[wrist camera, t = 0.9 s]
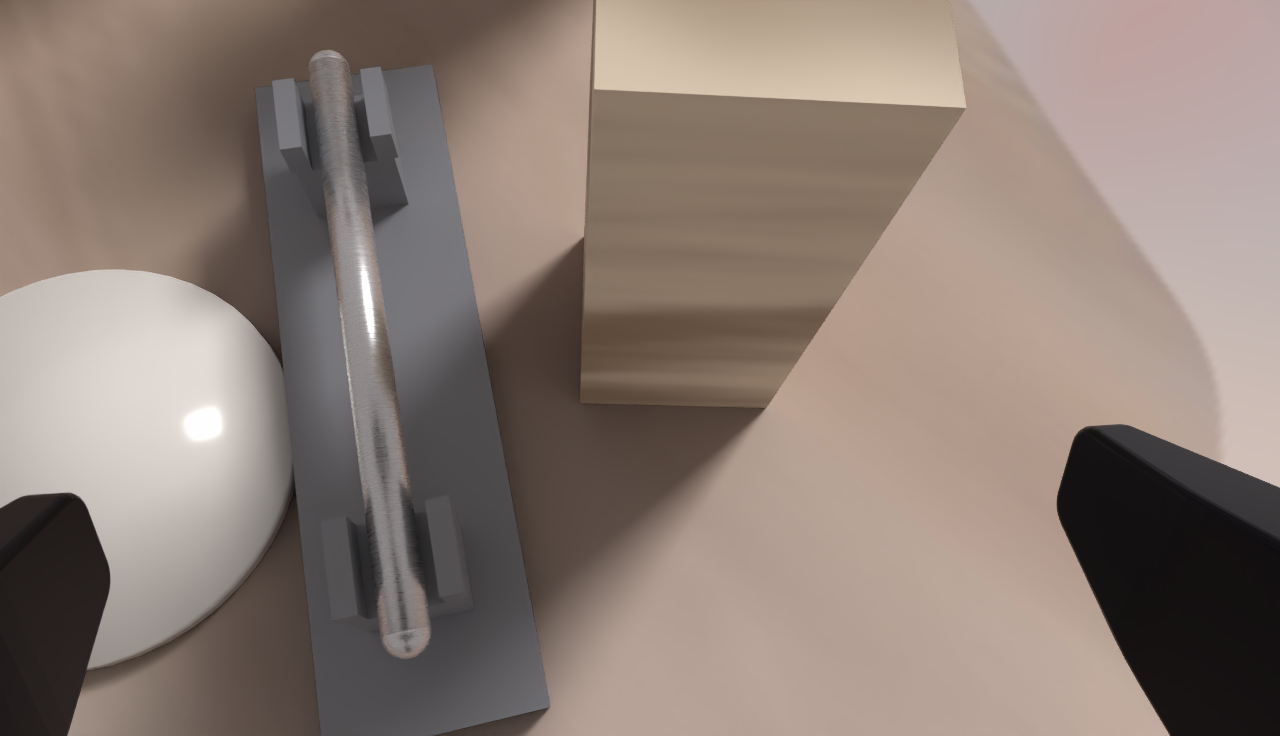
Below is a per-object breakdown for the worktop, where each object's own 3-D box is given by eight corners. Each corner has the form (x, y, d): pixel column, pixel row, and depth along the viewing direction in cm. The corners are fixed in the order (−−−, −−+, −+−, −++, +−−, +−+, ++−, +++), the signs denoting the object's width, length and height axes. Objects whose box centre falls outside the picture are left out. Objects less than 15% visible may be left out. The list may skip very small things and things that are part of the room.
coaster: (383, 462, 23) (379, 456, 22) (30, 773, 20) (14, 775, 19) (142, 211, 25) (133, 200, 24) (-213, 460, 22) (-234, 454, 21)
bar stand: (550, 707, 21) (547, 706, 17) (332, 759, 20) (280, 771, 17) (436, 81, 27) (415, -19, 23) (263, 105, 26) (213, 5, 23)
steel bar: (438, 654, 19) (431, 651, 18) (388, 665, 18) (379, 663, 18) (351, 64, 24) (342, 38, 23) (312, 69, 23) (301, 43, 22)
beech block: (766, 407, 24) (966, 107, 12) (579, 403, 24) (594, 89, 12) (758, 242, 26) (925, -164, 14) (584, 235, 26) (600, -186, 14)
